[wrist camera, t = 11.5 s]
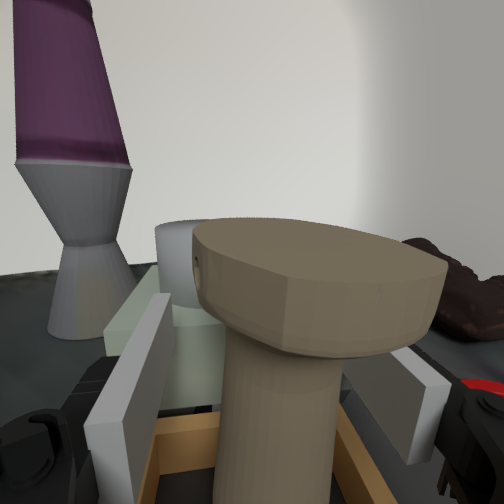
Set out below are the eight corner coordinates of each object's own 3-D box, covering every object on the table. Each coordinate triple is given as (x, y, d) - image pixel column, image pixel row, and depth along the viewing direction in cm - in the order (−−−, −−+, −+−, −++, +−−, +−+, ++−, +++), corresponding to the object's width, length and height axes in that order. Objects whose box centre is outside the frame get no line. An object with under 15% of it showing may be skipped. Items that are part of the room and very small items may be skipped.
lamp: (161, 298, 36) (132, -56, 26) (120, 343, 26) (45, -218, 15) (89, 295, 37) (31, -55, 26) (20, 339, 26) (-120, -213, 16)
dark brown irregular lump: (607, 280, 26) (457, 230, 38) (516, 309, 21) (381, 241, 34) (554, 349, 30) (435, 283, 43) (470, 385, 25) (365, 299, 38)
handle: (221, 831, 6) (247, 301, 3) (188, 524, 12) (181, 217, 8) (365, 701, 8) (509, 268, 4) (277, 485, 14) (305, 217, 10)
